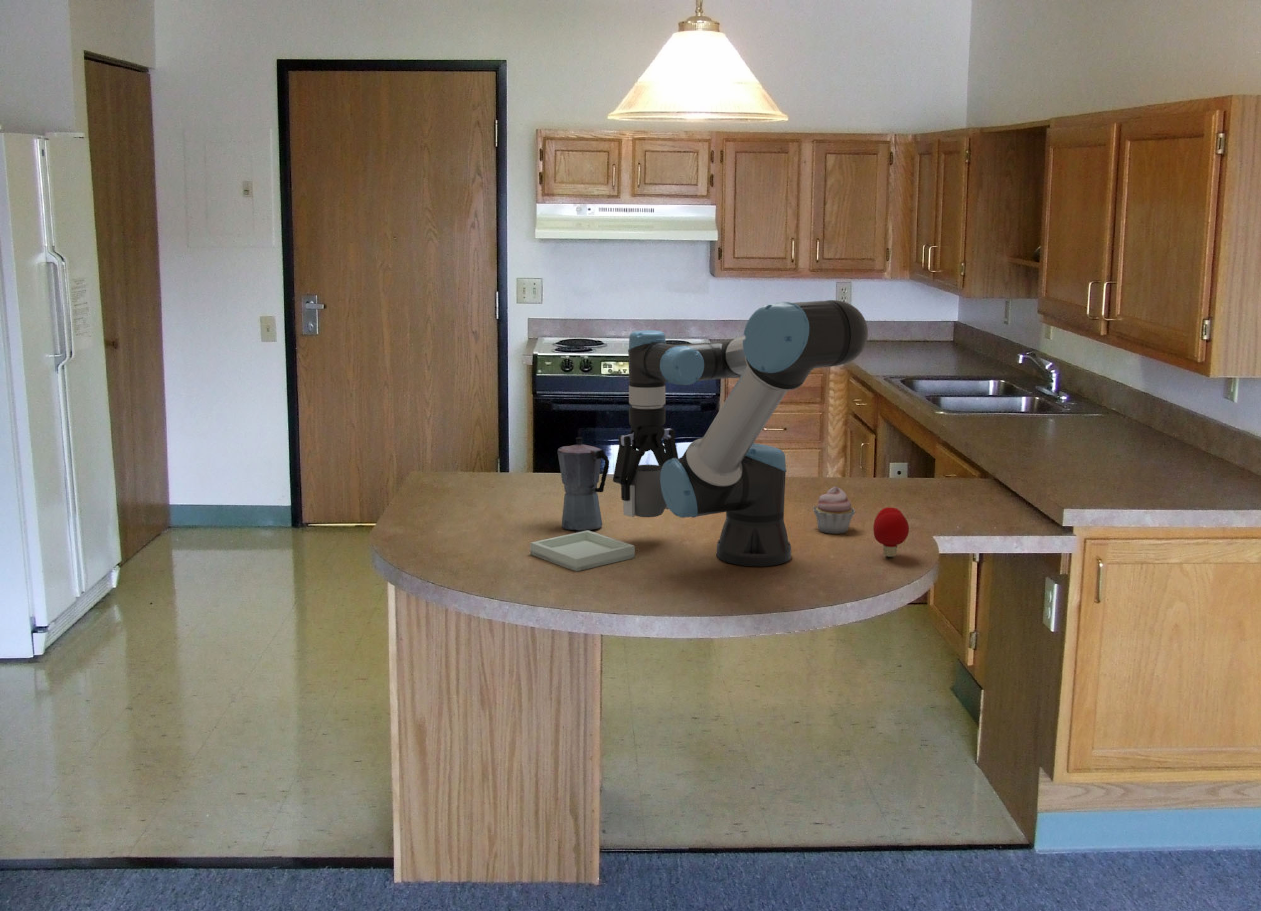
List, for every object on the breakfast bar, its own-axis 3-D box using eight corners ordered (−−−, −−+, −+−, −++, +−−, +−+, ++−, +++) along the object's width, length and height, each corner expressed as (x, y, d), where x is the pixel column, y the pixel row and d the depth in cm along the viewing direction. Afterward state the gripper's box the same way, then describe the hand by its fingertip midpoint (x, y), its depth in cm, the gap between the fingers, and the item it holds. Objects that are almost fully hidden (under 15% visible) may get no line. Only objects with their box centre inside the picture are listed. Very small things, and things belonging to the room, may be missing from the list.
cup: (678, 516, 275) (678, 469, 273) (642, 522, 269) (641, 474, 268) (652, 507, 282) (652, 461, 280) (616, 513, 277) (616, 466, 275)
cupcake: (818, 537, 283) (820, 491, 281) (806, 525, 292) (808, 481, 290) (860, 535, 284) (862, 490, 282) (847, 524, 293) (849, 480, 291)
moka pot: (572, 517, 297) (572, 430, 293) (624, 529, 287) (625, 439, 283) (543, 525, 290) (542, 436, 285) (596, 538, 280) (596, 446, 276)
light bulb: (868, 551, 273) (871, 504, 270) (902, 551, 272) (905, 504, 270) (875, 564, 264) (878, 515, 261) (910, 564, 263) (913, 516, 261)
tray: (634, 557, 266) (634, 545, 266) (576, 571, 257) (576, 559, 256) (587, 541, 277) (588, 530, 277) (530, 554, 268) (530, 542, 267)
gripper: (674, 398, 281) (674, 501, 286) (594, 409, 267) (595, 516, 272) (698, 402, 276) (698, 506, 280) (617, 413, 262) (618, 523, 266)
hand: (647, 511), depth 276 cm, fingers closed on cup, 9 cm apart
